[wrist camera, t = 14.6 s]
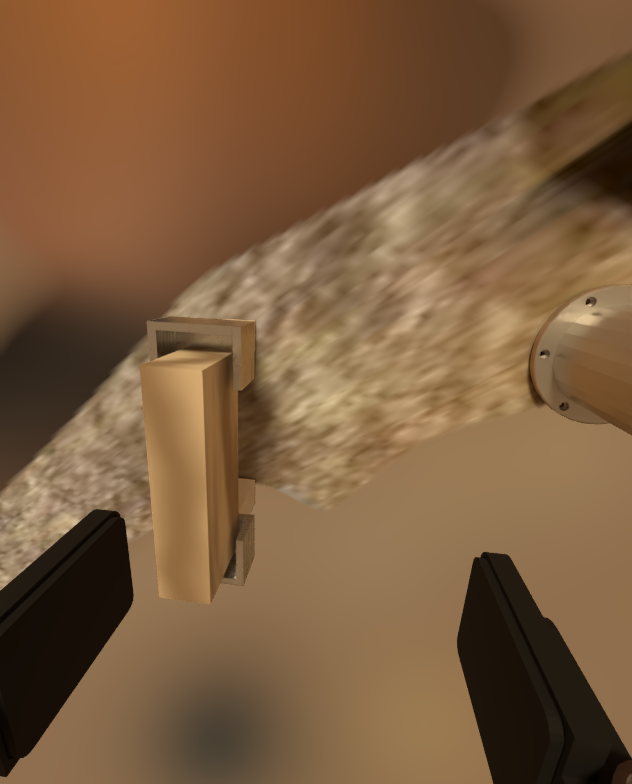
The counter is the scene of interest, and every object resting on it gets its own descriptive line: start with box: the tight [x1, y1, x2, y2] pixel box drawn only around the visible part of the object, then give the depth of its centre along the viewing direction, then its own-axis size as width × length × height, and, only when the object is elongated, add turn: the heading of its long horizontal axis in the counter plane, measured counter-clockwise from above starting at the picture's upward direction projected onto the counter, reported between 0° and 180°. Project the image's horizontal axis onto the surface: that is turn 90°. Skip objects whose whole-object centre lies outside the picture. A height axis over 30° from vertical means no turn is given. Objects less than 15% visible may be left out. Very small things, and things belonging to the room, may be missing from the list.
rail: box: [140, 346, 239, 604], centre depth 29 cm, size 4×18×7 cm, turn 177°
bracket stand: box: [147, 316, 255, 586], centre depth 35 cm, size 7×22×11 cm, turn 177°
